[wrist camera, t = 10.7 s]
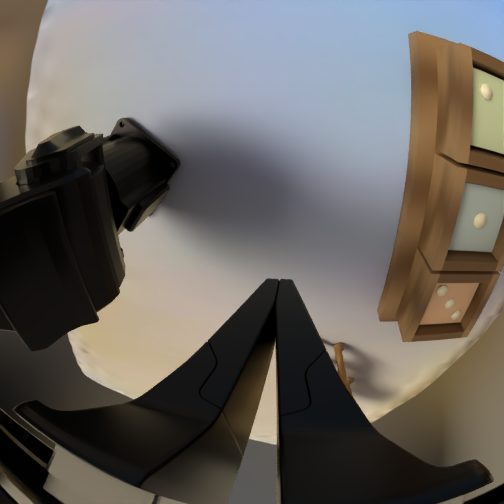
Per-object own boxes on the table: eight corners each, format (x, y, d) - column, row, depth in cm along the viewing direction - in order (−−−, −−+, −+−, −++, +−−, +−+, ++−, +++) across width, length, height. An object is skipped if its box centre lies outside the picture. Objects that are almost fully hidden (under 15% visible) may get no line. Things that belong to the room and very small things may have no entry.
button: (480, 238, 16) (493, 253, 14) (434, 235, 17) (445, 251, 15) (495, 181, 14) (511, 192, 12) (447, 171, 14) (462, 182, 13)
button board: (458, 308, 22) (473, 341, 18) (377, 310, 24) (385, 349, 20) (509, 71, 9) (546, 76, 6) (408, 34, 11) (437, 22, 7)
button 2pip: (501, 150, 12) (518, 159, 10) (452, 137, 13) (468, 144, 11) (505, 86, 9) (523, 90, 8) (453, 66, 10) (471, 66, 8)
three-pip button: (453, 307, 20) (460, 323, 18) (410, 308, 21) (416, 326, 19) (472, 264, 18) (482, 279, 16) (426, 262, 18) (435, 279, 17)
